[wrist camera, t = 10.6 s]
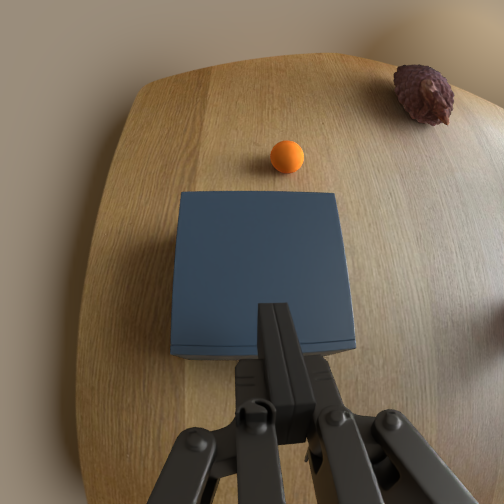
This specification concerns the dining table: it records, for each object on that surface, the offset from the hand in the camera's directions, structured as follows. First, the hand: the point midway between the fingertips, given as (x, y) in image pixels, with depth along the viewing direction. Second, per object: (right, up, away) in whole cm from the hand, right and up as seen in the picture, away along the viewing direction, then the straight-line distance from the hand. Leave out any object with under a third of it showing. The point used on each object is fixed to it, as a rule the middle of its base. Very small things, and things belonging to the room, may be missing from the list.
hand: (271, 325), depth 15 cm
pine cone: (+26, +28, +25) cm, 45 cm away
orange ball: (+2, +14, +17) cm, 22 cm away
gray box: (0, -4, +6) cm, 7 cm away
